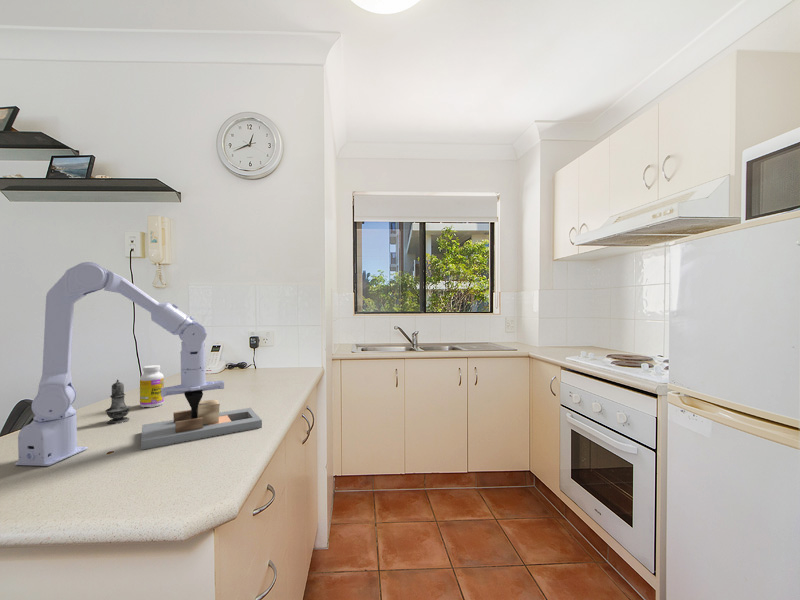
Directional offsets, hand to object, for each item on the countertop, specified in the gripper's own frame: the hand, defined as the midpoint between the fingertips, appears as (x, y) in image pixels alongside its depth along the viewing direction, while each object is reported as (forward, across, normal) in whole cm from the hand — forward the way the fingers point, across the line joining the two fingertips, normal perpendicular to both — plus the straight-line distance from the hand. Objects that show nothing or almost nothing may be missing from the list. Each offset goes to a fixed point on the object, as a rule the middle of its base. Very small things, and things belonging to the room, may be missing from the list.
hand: (194, 419), depth 102 cm
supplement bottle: (+3, -9, +36) cm, 38 cm away
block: (+1, +3, 0) cm, 3 cm away
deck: (+3, +2, 0) cm, 4 cm away
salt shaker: (+3, -17, +23) cm, 29 cm away
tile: (+3, +6, 0) cm, 7 cm away
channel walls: (+1, -1, 0) cm, 2 cm away
